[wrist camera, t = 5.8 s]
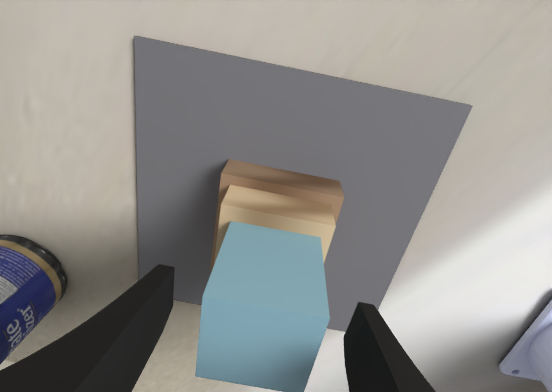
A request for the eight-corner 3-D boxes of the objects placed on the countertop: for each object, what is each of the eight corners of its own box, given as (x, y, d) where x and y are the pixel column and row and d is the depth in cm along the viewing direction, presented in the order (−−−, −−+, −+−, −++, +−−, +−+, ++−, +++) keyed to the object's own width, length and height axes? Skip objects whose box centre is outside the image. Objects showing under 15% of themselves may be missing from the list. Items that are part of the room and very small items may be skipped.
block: (320, 237, 14) (329, 318, 10) (301, 303, 16) (302, 395, 11) (230, 220, 14) (202, 296, 10) (222, 288, 15) (195, 376, 11)
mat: (469, 104, 15) (472, 105, 15) (365, 331, 22) (366, 335, 22) (137, 36, 15) (134, 35, 14) (141, 290, 22) (139, 293, 21)
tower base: (339, 180, 17) (344, 197, 15) (313, 267, 19) (314, 289, 18) (229, 158, 17) (221, 173, 15) (218, 248, 19) (209, 270, 18)
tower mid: (331, 204, 15) (335, 226, 13) (307, 281, 17) (309, 309, 16) (230, 184, 15) (221, 204, 13) (219, 265, 17) (210, 290, 16)
